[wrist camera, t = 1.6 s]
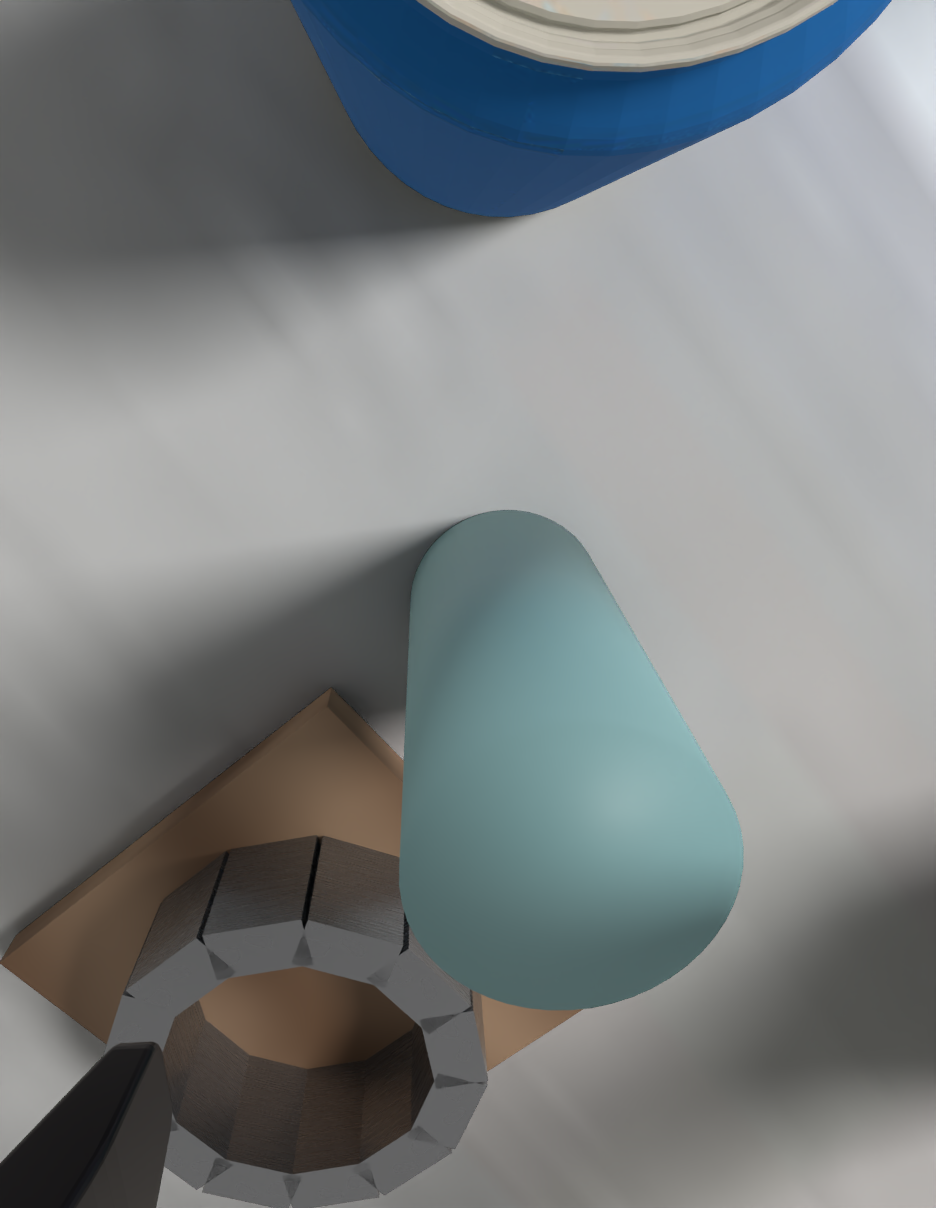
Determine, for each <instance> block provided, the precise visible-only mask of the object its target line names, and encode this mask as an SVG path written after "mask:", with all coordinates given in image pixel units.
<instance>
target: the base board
mask: <svg viewBox="0 0 936 1208" xmlns="http://www.w3.org/2000/svg"><path fill="white" fill-rule="evenodd" d="M403 767H404V761H403V760H402V759H401V758H400V757H399V756H398V755H397V754H396V753H395V752H394V751H393V750H392V749H391V748H390V747H389V746H388V745H387V744H386V742H385V741H384V740H383V739H382V738H381V737H380V736H379V735H378V734H377V733H376V732H375V731H374V730H373V729H372V728H371V727H370V726H369V725H368V724H367V723H366V722H365V721H364V720H363V719H362V718H361V717H360V716H359V715H358V714H357V713H356V712H355V711H354V710H353V709H352V708H351V707H350V706H349V705H348V704H347V703H346V702H345V701H344V700H343V699H342V698H341V697H340V696H339V695H338V694H337V693H336V692H335V691H334V690H333V688H332V687H331V688H330V689H329V690H327V691H326V692H325V693H323V694H322V695H321V696H320V697H318V698H317V699H316V700H315V701H313V702H312V703H311V704H310V705H308V706H307V707H306V708H304V709H303V710H302V711H301V712H299V713H298V714H297V715H296V716H294V717H293V718H292V719H290V720H289V721H288V722H287V723H285V724H284V725H283V726H282V727H280V728H279V729H278V730H276V731H275V732H274V733H273V734H271V735H270V736H269V737H268V738H266V739H265V740H264V741H262V742H261V743H260V744H259V745H257V746H256V747H255V748H254V749H252V750H251V751H250V752H248V753H247V754H246V755H245V756H243V757H242V758H241V759H240V760H238V761H237V762H236V763H234V764H233V765H232V766H231V767H229V768H228V769H227V770H226V771H224V772H223V773H222V774H220V775H219V776H218V777H217V778H215V779H214V780H213V781H212V782H210V783H209V784H208V785H206V786H205V787H204V788H203V789H201V790H200V791H199V792H198V793H196V794H195V795H194V796H192V797H191V798H190V799H189V800H187V801H186V802H185V803H184V804H182V805H181V806H180V807H178V808H177V809H176V810H175V811H173V812H172V813H171V814H170V815H168V816H167V817H166V818H165V819H163V820H162V821H161V822H159V823H158V824H157V825H156V826H154V827H153V828H152V829H151V830H149V831H148V832H147V833H145V834H144V835H143V836H142V837H140V838H139V839H138V840H137V841H135V842H134V843H133V844H131V845H130V846H129V847H128V848H126V849H125V850H124V851H123V852H121V853H120V854H119V855H117V856H116V857H115V858H114V859H112V860H111V861H110V862H109V863H107V864H106V865H105V866H103V867H102V868H101V869H100V870H98V871H97V872H96V873H95V874H93V875H92V876H91V877H89V878H88V879H87V880H86V881H84V882H83V883H82V884H81V885H79V886H78V887H77V888H75V889H74V890H73V891H72V892H70V893H69V894H68V895H67V896H65V897H64V898H63V899H61V900H60V901H59V902H58V903H56V904H55V905H54V906H53V907H51V908H50V909H49V910H47V911H46V912H45V913H44V914H42V915H41V916H40V917H39V918H37V919H36V920H35V921H33V922H32V923H31V924H30V925H28V926H27V927H26V928H25V929H23V930H22V931H21V932H20V933H18V934H17V935H16V936H15V938H14V940H13V941H12V943H11V944H10V946H9V948H8V949H7V951H6V953H5V954H4V956H3V957H2V959H1V961H0V964H1V965H3V966H4V967H5V968H7V969H8V970H9V971H11V972H12V973H13V974H15V975H16V976H17V977H19V978H20V979H21V980H23V981H24V982H25V983H26V984H28V985H29V986H30V987H32V988H33V989H34V990H36V991H37V992H38V993H40V994H41V995H42V996H44V997H45V998H46V999H48V1000H49V1001H50V1002H51V1003H53V1004H54V1005H55V1006H57V1007H58V1008H59V1009H61V1010H62V1011H63V1012H65V1013H66V1014H67V1015H69V1016H70V1017H71V1018H72V1019H74V1020H75V1021H76V1022H78V1023H79V1024H80V1025H82V1026H83V1027H84V1028H86V1029H87V1030H88V1031H90V1032H91V1033H92V1034H94V1035H95V1036H96V1037H97V1038H99V1039H100V1040H101V1041H103V1042H104V1043H105V1044H107V1042H108V1039H109V1035H110V1032H111V1029H112V1026H113V1023H114V1020H115V1016H116V1013H117V1010H118V1007H119V1004H120V1001H121V997H122V994H123V992H124V990H125V987H126V985H127V982H128V980H129V978H130V975H131V973H132V970H133V968H134V966H135V963H136V961H137V959H138V956H139V954H140V951H141V949H142V947H143V944H144V942H145V939H146V937H147V935H148V932H149V930H150V927H151V925H152V923H153V920H154V918H155V915H156V913H157V911H158V908H159V906H160V903H162V902H163V899H164V898H165V897H166V896H168V895H169V894H170V893H172V892H173V891H174V890H176V889H177V888H178V887H180V886H181V885H182V884H183V883H185V882H186V881H187V880H189V879H190V878H191V877H193V876H194V875H195V874H197V873H198V872H199V871H200V870H202V869H203V868H204V867H206V866H207V865H208V864H210V863H211V862H212V861H214V860H215V859H216V858H218V857H219V856H220V855H221V854H223V853H224V852H225V851H226V852H227V853H228V854H230V851H231V849H234V848H240V847H246V846H252V845H258V844H264V843H270V842H276V841H283V840H289V839H295V838H301V837H307V836H313V835H317V836H318V840H319V844H320V842H321V840H322V837H323V835H324V836H328V837H331V838H335V839H338V840H342V841H345V842H349V843H352V844H356V845H359V846H362V847H366V848H369V849H373V850H376V851H380V852H383V853H387V854H390V855H394V856H397V857H400V838H401V814H402V791H403ZM481 998H482V1011H483V1024H484V1037H485V1050H486V1063H487V1071H489V1070H490V1069H492V1068H493V1067H495V1066H496V1065H498V1064H499V1063H501V1062H503V1061H504V1060H506V1059H507V1058H509V1057H510V1056H512V1055H513V1054H515V1053H516V1052H518V1051H519V1050H521V1049H523V1048H524V1047H526V1046H527V1045H529V1044H530V1043H532V1042H533V1041H535V1040H536V1039H538V1038H540V1037H541V1036H543V1035H544V1034H546V1033H547V1032H549V1031H550V1030H552V1029H553V1028H555V1027H556V1026H558V1025H560V1024H561V1023H563V1022H564V1021H566V1020H567V1019H569V1018H570V1017H572V1016H573V1015H575V1014H576V1013H578V1012H580V1011H581V1010H583V1009H577V1010H540V1009H530V1008H524V1007H519V1006H515V1005H510V1004H506V1003H503V1002H500V1001H497V1000H494V999H491V998H488V997H486V996H484V995H482V994H481ZM199 1001H200V1004H201V1007H202V1010H203V1013H204V1015H205V1018H206V1020H207V1021H208V1022H209V1023H211V1024H212V1025H213V1026H214V1027H215V1028H217V1029H218V1030H219V1031H220V1032H222V1033H223V1034H224V1035H225V1036H227V1037H228V1038H229V1039H230V1040H232V1041H233V1042H234V1043H235V1044H237V1045H238V1046H239V1047H240V1048H242V1049H243V1050H244V1051H245V1052H246V1053H248V1054H249V1055H252V1056H256V1057H260V1058H264V1059H268V1060H272V1061H277V1062H281V1063H285V1064H289V1065H293V1066H297V1067H301V1068H305V1069H311V1068H318V1067H324V1066H330V1065H336V1064H343V1063H349V1062H355V1061H361V1060H367V1059H368V1058H370V1057H371V1056H373V1055H374V1054H376V1053H377V1052H379V1051H380V1050H382V1049H383V1048H385V1047H386V1046H388V1045H389V1044H391V1043H392V1042H394V1041H395V1040H397V1039H398V1038H399V1037H401V1036H402V1035H404V1034H405V1033H407V1032H408V1031H410V1030H411V1029H413V1026H414V1024H415V1021H414V1020H412V1019H411V1018H410V1017H409V1016H408V1015H407V1014H406V1013H405V1012H403V1011H402V1010H401V1009H400V1008H399V1007H398V1006H397V1005H396V1004H395V1003H393V1002H392V1001H391V1000H390V999H389V998H388V997H387V996H386V995H384V994H383V993H382V992H381V991H380V990H379V989H378V988H377V987H375V986H374V985H372V984H368V983H364V982H360V981H356V980H353V979H349V978H345V977H341V976H337V975H333V974H330V973H326V972H322V971H318V970H314V969H311V968H307V967H303V966H301V967H295V968H289V969H283V970H276V971H270V972H264V973H258V974H252V975H245V976H239V977H233V978H228V979H227V980H225V981H224V982H222V983H221V984H220V985H218V986H217V987H216V988H214V989H213V990H211V991H210V992H209V993H207V994H206V995H205V996H203V997H202V998H200V999H199Z"/></svg>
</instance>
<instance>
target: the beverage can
mask: <svg viewBox="0 0 936 1208" xmlns="http://www.w3.org/2000/svg"><path fill="white" fill-rule="evenodd" d="M891 1H892V0H291V2H292V4H293V6H294V8H295V10H296V12H297V14H298V16H299V18H300V20H301V22H302V24H303V26H304V28H305V30H306V32H307V34H308V36H309V38H310V40H311V42H312V44H313V46H314V48H315V50H316V52H317V54H318V56H319V58H320V60H321V62H322V64H323V66H324V68H325V70H326V72H327V74H328V76H329V78H330V80H331V82H332V84H333V86H334V88H335V90H336V92H337V94H338V96H339V98H340V100H341V102H342V104H343V106H344V108H345V110H346V112H347V114H348V116H349V117H350V119H351V121H352V123H353V125H354V127H355V129H356V130H357V132H358V133H359V134H360V136H361V137H362V139H363V140H364V142H365V143H366V144H367V146H368V147H369V149H370V150H371V151H372V152H373V153H374V155H375V156H376V157H377V158H378V159H379V160H380V161H381V162H382V163H383V165H384V166H385V167H386V168H387V169H388V170H390V171H391V172H392V173H393V174H394V175H395V176H397V177H398V178H399V179H400V180H401V181H402V182H404V183H405V184H406V185H408V186H409V187H411V188H412V189H414V190H415V191H417V192H418V193H420V194H421V195H423V196H425V197H427V198H429V199H431V200H433V201H435V202H437V203H439V204H441V205H444V206H446V207H449V208H452V209H456V210H459V211H462V212H465V213H470V214H476V215H482V216H489V217H514V216H522V215H530V214H535V213H539V212H542V211H546V210H550V209H554V208H556V207H558V206H561V205H563V204H565V203H568V202H570V201H573V200H575V199H577V198H579V197H581V196H583V195H586V194H588V193H590V192H592V191H594V190H596V189H599V188H601V187H603V186H605V185H607V184H609V183H611V182H614V181H616V180H618V179H620V178H622V177H624V176H626V175H629V174H631V173H633V172H635V171H637V170H639V169H641V168H644V167H646V166H648V165H650V164H652V163H654V162H657V161H659V160H661V159H663V158H665V157H667V156H669V155H672V154H674V153H676V152H678V151H680V150H682V149H684V148H687V147H689V146H691V145H693V144H695V143H697V142H699V141H702V140H704V139H706V138H708V137H710V136H712V135H715V134H717V133H719V132H721V131H723V130H725V129H727V128H730V127H732V126H734V125H736V124H738V123H740V122H742V121H745V120H747V119H749V118H751V117H752V116H754V115H756V114H757V113H759V112H761V111H762V110H764V109H766V108H768V107H769V106H771V105H773V104H774V103H776V102H778V101H779V100H781V99H783V98H784V97H786V96H788V95H790V94H791V93H793V92H794V91H796V90H797V89H798V88H799V87H801V86H802V85H803V84H805V83H806V82H807V81H809V80H810V79H811V78H812V77H814V76H815V75H816V74H818V73H819V72H820V71H821V70H823V69H824V68H825V67H827V66H828V65H829V64H830V63H832V62H833V61H834V60H836V59H837V58H838V57H839V56H840V55H841V54H842V53H843V52H844V51H845V50H846V49H847V48H848V47H849V46H850V45H851V44H852V43H853V42H854V41H855V40H856V39H857V38H858V37H859V36H860V35H861V34H862V33H863V32H864V31H865V30H866V29H867V28H868V27H869V26H870V25H871V24H872V23H873V22H874V21H875V20H876V19H877V18H878V17H879V15H880V14H881V13H882V12H883V10H884V9H885V8H886V7H887V6H888V4H889V3H890V2H891Z"/></svg>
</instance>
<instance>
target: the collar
mask: <svg viewBox="0 0 936 1208" xmlns="http://www.w3.org/2000/svg"><path fill="white" fill-rule="evenodd" d="M399 862H400V857H397V856H394V855H390V854H387V853H383V852H380V851H376V850H373V849H369V848H366V847H362V846H359V845H356V844H352V843H349V842H345V841H342V840H338V839H335V838H331V837H328V836H324V835H323V837H322V840H321V842H320V844H319V840H318V836H317V835H313V836H307V837H301V838H295V839H289V840H283V841H276V842H270V843H264V844H258V845H252V846H246V847H240V848H234V849H231V851H230V854H228V853H227V852H226V851H225V852H224V853H223V854H221V855H220V856H219V857H218V858H216V859H215V860H214V861H212V862H211V863H210V864H208V865H207V866H206V867H204V868H203V869H202V870H200V871H199V872H198V873H197V874H195V875H194V876H193V877H191V878H190V879H189V880H187V881H186V882H185V883H183V884H182V885H181V886H180V887H178V888H177V889H176V890H174V891H173V892H172V893H170V894H169V895H168V896H166V897H165V898H164V899H163V902H162V903H160V906H159V908H158V911H157V913H156V915H155V918H154V920H153V923H152V925H151V927H150V930H149V932H148V935H147V937H146V939H145V942H144V944H143V947H142V949H141V951H140V954H139V956H138V959H137V961H136V963H135V966H134V968H133V970H132V973H131V975H130V978H129V980H128V982H127V985H126V987H125V990H124V992H123V994H122V997H121V1001H120V1004H119V1007H118V1010H117V1013H116V1016H115V1020H114V1023H113V1026H112V1029H111V1032H110V1035H109V1039H108V1042H107V1045H106V1048H105V1051H104V1054H103V1056H104V1055H105V1054H106V1053H107V1052H108V1051H109V1050H110V1049H111V1048H112V1047H114V1046H115V1045H117V1044H120V1043H132V1042H155V1043H157V1044H159V1046H160V1048H161V1050H162V1053H163V1058H164V1063H165V1069H166V1074H167V1080H168V1085H169V1090H170V1096H171V1102H172V1123H171V1131H170V1136H169V1142H168V1147H167V1152H166V1158H165V1163H164V1166H165V1167H166V1168H167V1169H169V1170H170V1171H171V1172H173V1173H174V1174H176V1175H177V1176H178V1177H180V1178H181V1179H183V1180H184V1181H185V1182H187V1183H188V1184H189V1185H191V1186H192V1187H194V1188H195V1189H196V1190H197V1189H199V1188H200V1187H202V1186H203V1185H204V1187H203V1191H202V1192H204V1193H208V1194H213V1195H217V1196H222V1197H227V1198H231V1199H236V1200H241V1201H245V1202H250V1203H255V1204H259V1205H264V1206H269V1207H273V1208H289V1206H290V1204H292V1207H293V1208H314V1207H321V1206H327V1205H333V1204H340V1203H346V1202H352V1201H359V1200H365V1199H371V1198H378V1197H379V1191H380V1192H381V1193H382V1194H383V1195H386V1194H387V1193H389V1192H390V1191H392V1190H394V1189H395V1188H397V1187H398V1186H400V1185H401V1184H403V1183H405V1182H406V1181H408V1180H409V1179H411V1178H413V1177H414V1176H416V1175H417V1174H419V1173H420V1172H422V1171H424V1170H425V1169H427V1168H428V1167H430V1166H431V1165H433V1164H435V1163H436V1162H438V1161H439V1160H441V1159H442V1158H444V1157H446V1156H447V1155H449V1154H450V1153H452V1152H451V1148H453V1149H455V1148H456V1146H457V1144H458V1142H459V1140H460V1138H461V1136H462V1134H463V1132H464V1130H465V1128H466V1127H467V1125H468V1123H469V1121H470V1119H471V1117H472V1115H473V1113H474V1111H475V1109H476V1107H477V1105H478V1103H479V1101H480V1099H481V1097H482V1095H483V1093H484V1091H485V1089H486V1087H487V1081H488V1076H487V1063H486V1050H485V1037H484V1024H483V1011H482V998H481V994H479V993H477V992H475V991H473V990H471V989H469V988H468V987H466V986H464V985H463V984H461V983H459V982H458V981H456V980H455V979H453V978H452V977H451V976H450V975H448V974H447V973H446V972H445V971H443V970H442V969H441V968H440V967H439V966H438V965H437V964H436V963H435V962H434V961H433V960H432V959H431V958H430V957H429V956H428V955H427V953H426V952H425V951H424V949H423V948H422V946H421V945H420V943H419V942H418V941H417V939H416V938H415V936H414V934H413V932H412V930H411V928H410V925H409V923H408V921H407V918H406V915H405V912H404V909H403V906H402V901H401V894H400V888H399ZM301 966H303V967H307V968H311V969H314V970H318V971H322V972H326V973H330V974H333V975H337V976H341V977H345V978H349V979H353V980H356V981H360V982H364V983H368V984H372V985H374V986H375V987H377V988H378V989H379V990H380V991H381V992H382V993H383V994H384V995H386V996H387V997H388V998H389V999H390V1000H391V1001H392V1002H393V1003H395V1004H396V1005H397V1006H398V1007H399V1008H400V1009H401V1010H402V1011H403V1012H405V1013H406V1014H407V1015H408V1016H409V1017H410V1018H411V1019H412V1020H414V1021H415V1024H414V1026H413V1029H411V1030H410V1031H408V1032H407V1033H405V1034H404V1035H402V1036H401V1037H399V1038H398V1039H397V1040H395V1041H394V1042H392V1043H391V1044H389V1045H388V1046H386V1047H385V1048H383V1049H382V1050H380V1051H379V1052H377V1053H376V1054H374V1055H373V1056H371V1057H370V1058H368V1059H367V1060H361V1061H355V1062H349V1063H343V1064H336V1065H330V1066H324V1067H318V1068H311V1069H305V1068H301V1067H297V1066H293V1065H289V1064H285V1063H281V1062H277V1061H272V1060H268V1059H264V1058H260V1057H256V1056H252V1055H249V1054H248V1053H246V1052H245V1051H244V1050H243V1049H242V1048H240V1047H239V1046H238V1045H237V1044H235V1043H234V1042H233V1041H232V1040H230V1039H229V1038H228V1037H227V1036H225V1035H224V1034H223V1033H222V1032H220V1031H219V1030H218V1029H217V1028H215V1027H214V1026H213V1025H212V1024H211V1023H209V1022H208V1021H207V1020H206V1018H205V1015H204V1013H203V1010H202V1007H201V1004H200V1001H199V999H200V998H202V997H203V996H205V995H206V994H207V993H209V992H210V991H211V990H213V989H214V988H216V987H217V986H218V985H220V984H221V983H222V982H224V981H225V980H227V979H228V978H233V977H239V976H245V975H252V974H258V973H264V972H270V971H276V970H283V969H289V968H295V967H301Z"/></svg>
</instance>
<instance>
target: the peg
mask: <svg viewBox="0 0 936 1208" xmlns="http://www.w3.org/2000/svg"><path fill="white" fill-rule="evenodd" d="M742 870H743V841H742V834H741V828H740V825H739V822H738V819H737V815H736V812H735V810H734V808H733V806H732V804H731V802H730V800H729V798H728V796H727V794H726V792H725V790H724V788H723V787H722V785H721V783H720V782H719V780H718V778H717V776H716V775H715V773H714V771H713V769H712V768H711V766H710V764H709V762H708V761H707V759H706V757H705V756H704V754H703V752H702V750H701V749H700V747H699V745H698V743H697V742H696V740H695V738H694V736H693V735H692V733H691V731H690V729H689V728H688V726H687V724H686V723H685V721H684V719H683V717H682V716H681V714H680V712H679V710H678V709H677V707H676V705H675V703H674V702H673V700H672V698H671V696H670V695H669V693H668V691H667V690H666V688H665V686H664V684H663V683H662V681H661V679H660V677H659V676H658V674H657V672H656V670H655V669H654V667H653V665H652V663H651V662H650V660H649V658H648V657H647V655H646V653H645V651H644V650H643V648H642V646H641V644H640V643H639V641H638V639H637V637H636V636H635V634H634V632H633V630H632V629H631V627H630V625H629V624H628V622H627V620H626V618H625V617H624V615H623V613H622V611H621V610H620V608H619V606H618V604H617V603H616V601H615V599H614V597H613V596H612V594H611V592H610V591H609V589H608V587H607V585H606V584H605V582H604V580H603V578H602V577H601V575H600V573H599V571H598V570H597V568H596V566H595V565H594V563H593V561H592V559H591V558H590V556H589V554H588V553H587V551H586V550H585V548H584V547H583V545H582V544H581V543H580V542H579V541H578V540H577V539H576V538H575V536H574V535H572V534H571V533H570V532H569V531H568V530H566V529H565V528H564V527H562V526H561V525H559V524H557V523H556V522H554V521H552V520H550V519H548V518H545V517H543V516H540V515H537V514H533V513H530V512H524V511H517V510H501V511H492V512H487V513H483V514H479V515H476V516H473V517H471V518H468V519H466V520H464V521H462V522H460V523H458V524H456V525H455V526H453V527H452V528H450V529H449V530H448V531H446V532H445V533H444V534H443V535H441V536H440V537H439V538H438V539H437V540H436V541H435V542H434V543H433V545H432V546H431V547H430V548H429V549H428V551H427V552H426V554H425V555H424V557H423V559H422V560H421V562H420V564H419V566H418V569H417V571H416V574H415V577H414V580H413V584H412V590H411V601H410V625H409V648H408V672H407V696H406V719H405V743H404V767H403V791H402V814H401V838H400V862H399V888H400V894H401V901H402V906H403V909H404V912H405V915H406V918H407V921H408V923H409V925H410V928H411V930H412V932H413V934H414V936H415V938H416V939H417V941H418V942H419V943H420V945H421V946H422V948H423V949H424V951H425V952H426V953H427V955H428V956H429V957H430V958H431V959H432V960H433V961H434V962H435V963H436V964H437V965H438V966H439V967H440V968H441V969H442V970H443V971H445V972H446V973H447V974H448V975H450V976H451V977H452V978H453V979H455V980H456V981H458V982H459V983H461V984H463V985H464V986H466V987H468V988H469V989H471V990H473V991H475V992H477V993H479V994H482V995H484V996H486V997H488V998H491V999H494V1000H497V1001H500V1002H503V1003H506V1004H510V1005H515V1006H519V1007H524V1008H530V1009H540V1010H577V1009H586V1008H593V1007H598V1006H603V1005H608V1004H612V1003H615V1002H618V1001H622V1000H625V999H628V998H631V997H634V996H636V995H638V994H640V993H643V992H645V991H647V990H649V989H652V988H653V987H655V986H657V985H659V984H660V983H662V982H664V981H666V980H667V979H669V978H671V977H672V976H673V975H675V974H676V973H678V972H679V971H680V970H682V969H683V968H685V967H686V966H687V965H688V964H689V963H690V962H692V961H693V960H694V959H695V958H696V957H697V956H698V955H699V954H700V953H701V952H702V951H703V950H704V949H705V948H706V947H707V945H708V944H709V943H710V942H711V941H712V940H713V938H714V937H715V936H716V934H717V933H718V931H719V930H720V928H721V927H722V925H723V924H724V922H725V921H726V919H727V917H728V915H729V913H730V911H731V909H732V907H733V905H734V902H735V899H736V896H737V893H738V890H739V887H740V882H741V876H742Z"/></svg>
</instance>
